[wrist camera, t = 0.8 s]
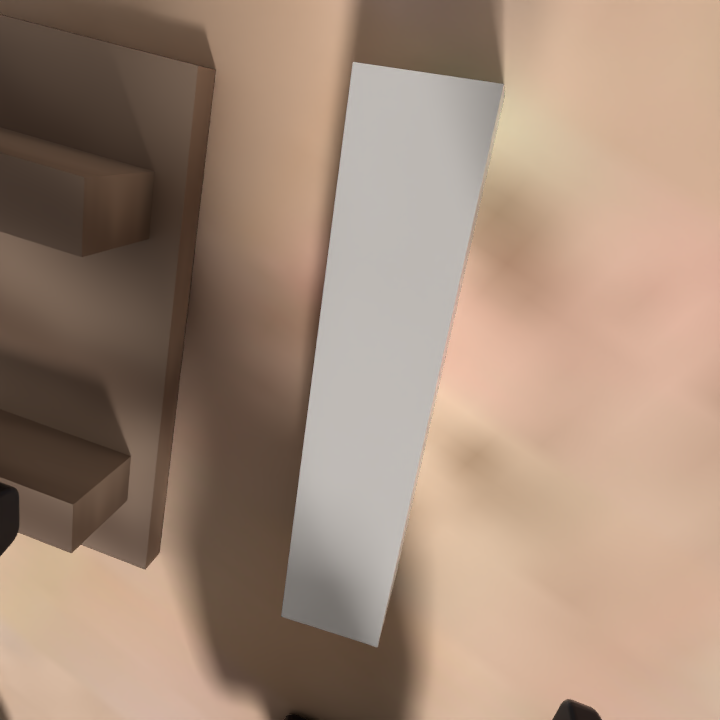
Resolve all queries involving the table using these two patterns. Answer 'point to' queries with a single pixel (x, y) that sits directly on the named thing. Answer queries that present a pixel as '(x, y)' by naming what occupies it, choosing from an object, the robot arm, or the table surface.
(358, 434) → the light gray rectangular bar
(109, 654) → the table surface
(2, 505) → the robot arm
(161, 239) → the walnut rack
